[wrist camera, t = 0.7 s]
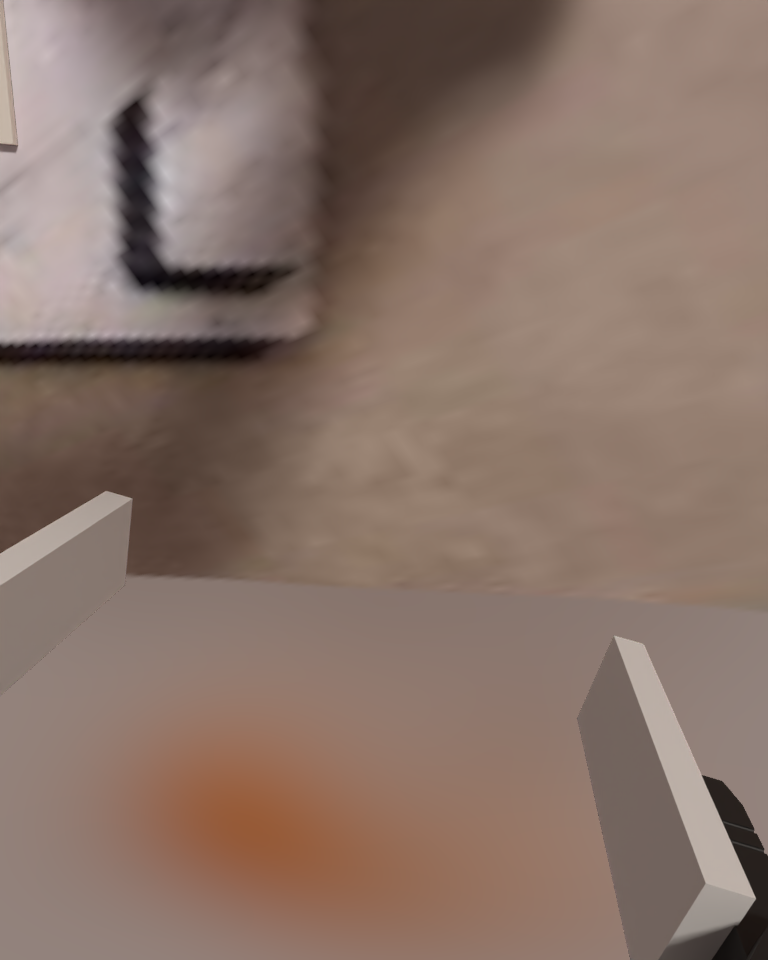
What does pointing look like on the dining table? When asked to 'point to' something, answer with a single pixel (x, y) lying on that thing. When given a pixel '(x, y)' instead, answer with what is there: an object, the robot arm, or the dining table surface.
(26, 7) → the dining table surface
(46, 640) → the robot arm
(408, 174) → the dining table surface
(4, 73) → the card
